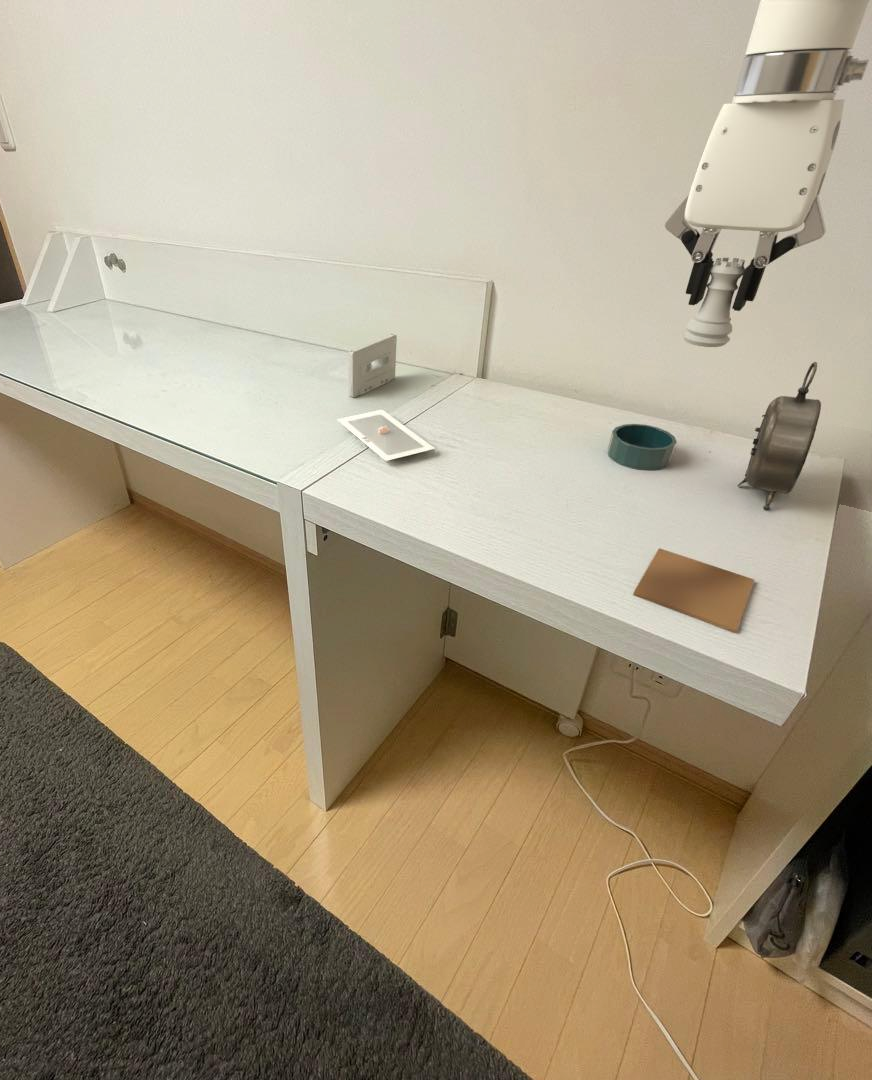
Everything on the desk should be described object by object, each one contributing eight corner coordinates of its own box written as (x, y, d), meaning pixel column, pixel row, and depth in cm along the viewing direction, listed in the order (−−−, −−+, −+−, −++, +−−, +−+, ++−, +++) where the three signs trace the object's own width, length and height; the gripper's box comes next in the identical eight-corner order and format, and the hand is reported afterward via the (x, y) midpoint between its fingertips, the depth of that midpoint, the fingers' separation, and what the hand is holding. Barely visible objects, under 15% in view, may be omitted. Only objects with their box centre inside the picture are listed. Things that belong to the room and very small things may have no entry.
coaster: (753, 582, 61) (754, 579, 61) (735, 633, 55) (737, 630, 55) (658, 550, 66) (659, 547, 65) (632, 594, 60) (634, 591, 60)
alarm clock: (781, 519, 70) (847, 383, 61) (728, 506, 72) (783, 373, 63) (785, 478, 77) (844, 351, 68) (737, 468, 80) (787, 344, 70)
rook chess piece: (700, 333, 67) (725, 254, 62) (738, 343, 64) (767, 261, 59) (671, 339, 66) (694, 258, 61) (708, 350, 62) (736, 266, 58)
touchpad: (381, 416, 96) (382, 403, 94) (434, 455, 84) (435, 441, 83) (336, 426, 93) (336, 412, 92) (385, 468, 82) (385, 453, 81)
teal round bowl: (676, 453, 84) (682, 433, 82) (660, 476, 79) (667, 455, 77) (617, 438, 88) (622, 419, 86) (599, 459, 83) (604, 439, 81)
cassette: (354, 399, 101) (354, 353, 97) (346, 396, 102) (345, 350, 98) (397, 378, 109) (399, 334, 104) (389, 376, 110) (390, 332, 105)
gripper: (912, 76, 50) (817, 308, 61) (692, 87, 59) (642, 288, 69) (910, 74, 45) (807, 326, 56) (671, 86, 54) (621, 302, 64)
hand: (716, 303), depth 62 cm, fingers closed on rook chess piece, 3 cm apart
